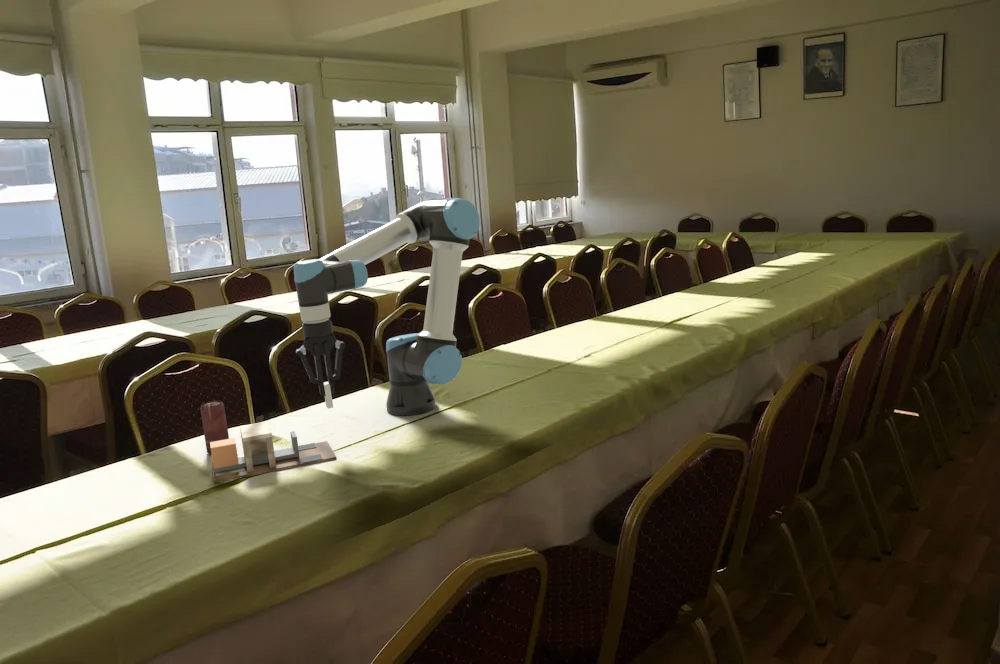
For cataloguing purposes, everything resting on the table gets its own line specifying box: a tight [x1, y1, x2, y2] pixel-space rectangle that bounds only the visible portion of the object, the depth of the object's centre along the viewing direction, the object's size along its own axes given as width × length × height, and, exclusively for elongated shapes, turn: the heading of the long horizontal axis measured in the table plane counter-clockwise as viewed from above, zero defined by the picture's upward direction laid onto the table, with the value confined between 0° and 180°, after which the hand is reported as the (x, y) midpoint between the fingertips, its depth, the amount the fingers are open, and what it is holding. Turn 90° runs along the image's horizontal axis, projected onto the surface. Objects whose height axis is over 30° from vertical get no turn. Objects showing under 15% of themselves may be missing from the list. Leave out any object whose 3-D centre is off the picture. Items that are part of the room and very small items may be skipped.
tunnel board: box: [212, 420, 337, 483], centre depth 203 cm, size 30×14×10 cm, turn 112°
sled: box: [210, 430, 299, 473], centre depth 201 cm, size 21×5×6 cm, turn 112°
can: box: [199, 400, 230, 456], centre depth 213 cm, size 6×6×14 cm
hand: (329, 406), depth 207 cm, fingers closed
